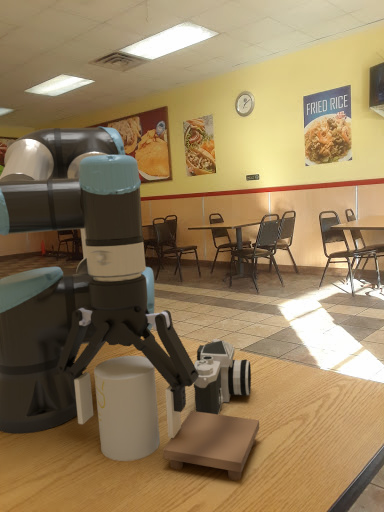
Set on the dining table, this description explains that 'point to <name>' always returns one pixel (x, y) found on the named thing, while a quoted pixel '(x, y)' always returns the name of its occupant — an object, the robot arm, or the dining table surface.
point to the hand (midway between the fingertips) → (128, 426)
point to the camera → (219, 376)
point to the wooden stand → (213, 442)
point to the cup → (127, 407)
